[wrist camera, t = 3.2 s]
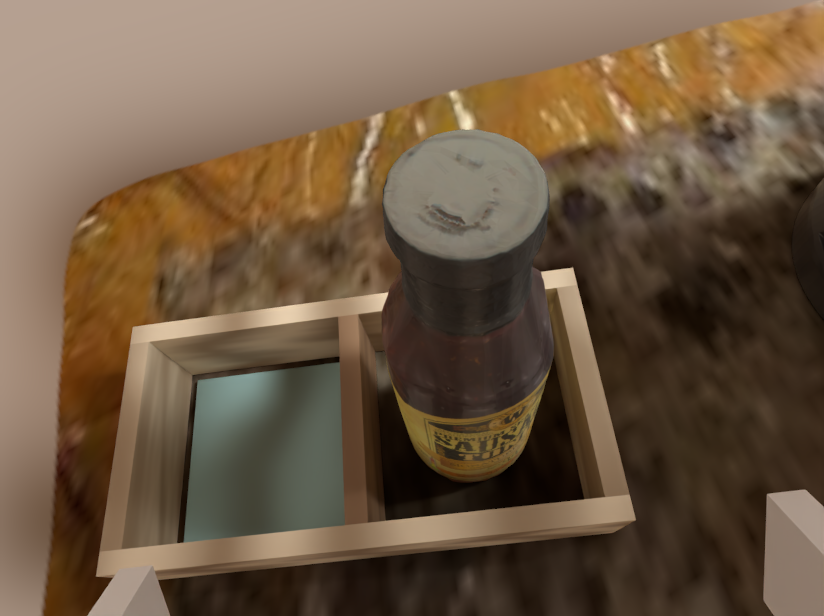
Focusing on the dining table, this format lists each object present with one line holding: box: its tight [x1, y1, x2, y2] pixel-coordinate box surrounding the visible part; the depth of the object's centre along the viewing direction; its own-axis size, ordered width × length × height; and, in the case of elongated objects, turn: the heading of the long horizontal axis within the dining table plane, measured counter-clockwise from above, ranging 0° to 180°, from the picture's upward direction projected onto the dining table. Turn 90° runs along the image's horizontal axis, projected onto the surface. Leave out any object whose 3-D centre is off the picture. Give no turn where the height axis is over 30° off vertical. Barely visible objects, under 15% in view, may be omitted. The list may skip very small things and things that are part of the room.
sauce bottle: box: [381, 130, 554, 483], centre depth 22 cm, size 7×6×20 cm
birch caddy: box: [96, 268, 636, 580], centre depth 29 cm, size 23×12×5 cm, turn 95°
